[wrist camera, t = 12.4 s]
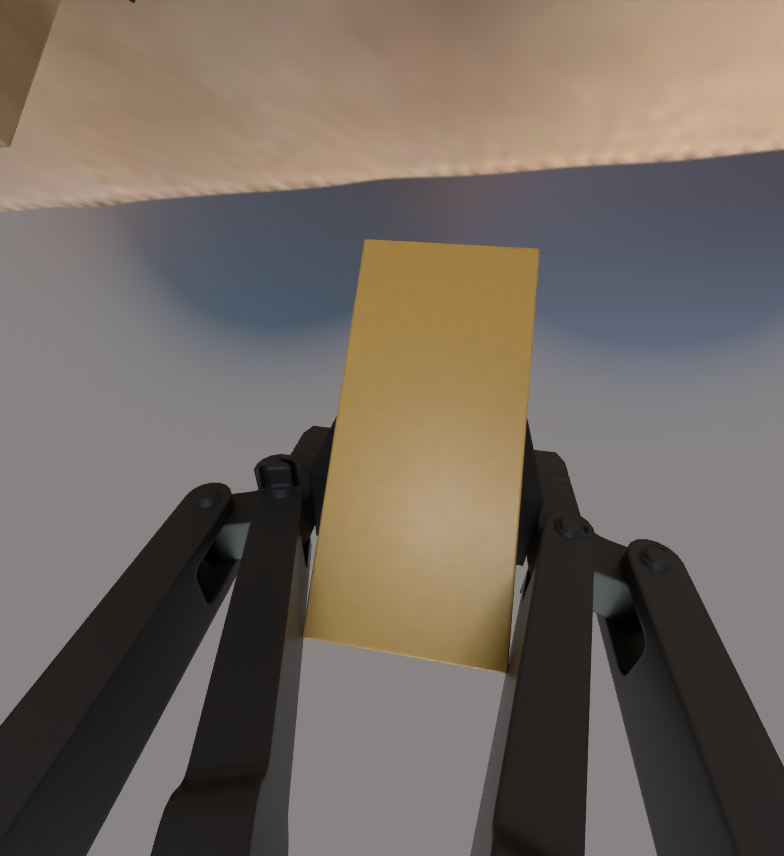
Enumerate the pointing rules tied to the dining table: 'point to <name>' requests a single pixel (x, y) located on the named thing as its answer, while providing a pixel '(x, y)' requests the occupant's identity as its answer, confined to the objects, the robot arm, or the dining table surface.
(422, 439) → the tall mustard brick
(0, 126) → the tan tall block
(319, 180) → the dining table surface
